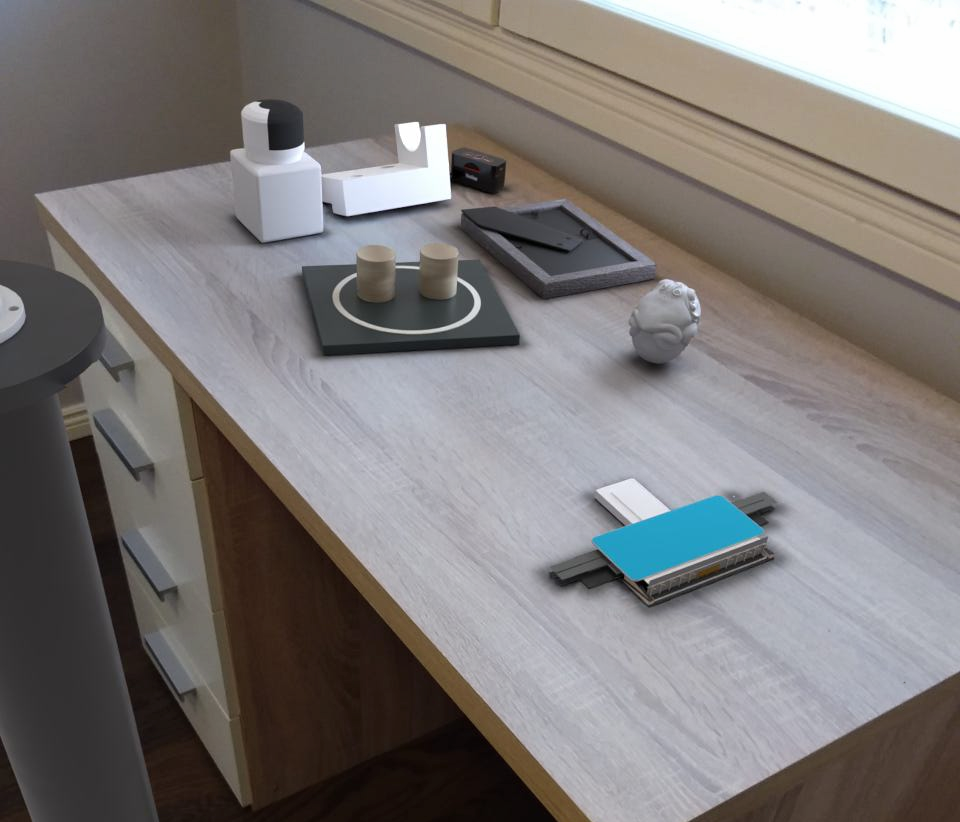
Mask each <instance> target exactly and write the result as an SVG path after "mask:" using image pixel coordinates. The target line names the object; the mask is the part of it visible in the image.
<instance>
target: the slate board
mask: <svg viewBox="0 0 960 822" xmlns="http://www.w3.org/2000/svg"><path fill="white" fill-rule="evenodd" d="M419 269H420V261H404V262H403V261H402V262H401V261H400V262H396V265H395V297H394V298H393V299H392V300H390V301H387V302H382V303H373V302H368V301H364V300H362V299H361V298H359V297H358V295H357V263H353V264H352V263H351V264H323V265H322V264H321V265H302V266H301V276H302V279H303V283H304V287H305V291H306V294H307V298H308V302H309V306H310V311H311V314H312V318H313V321H314V325H315V328H316V329H315V330H316V333H317V337H318V340H319V345H320V348H321V351H322V355H323V356H335V355H353V354H354V355H355V354H372V353H373V354H374V353H389V352H391V353H392V352H405V351H407V352H408V351H426V350H427V351H428V350H443V349H445V350H446V349H461V348H476V347H477V348H479V347H495V346H496V347H497V346H515V345H520V340H521V334H520V332H519V330H518V329H517V326H516V325H515V322H514V321H513V319H512V318H511V315H510V313H509V312H508V310H507V308H506V306H505V304H504V302H503V300H502V299H501V297H500V295H499V293H498V291H497V289H496V287H495V286H494V283H493V281H492V280H491V278H490V277H489V274H488V273H487V271H486V269H485V267H484V265H483V263H482V262H481V259H479V258H477V259H458V272H457V290H456V294H455V296H454V297H452V298H449V299H445V300H435V299H429V298H426V297H424V296H423V295H421V294H420V292H419Z"/></svg>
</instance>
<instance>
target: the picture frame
mask: <svg viewBox="0 0 960 822" xmlns="http://www.w3.org/2000/svg"><path fill="white" fill-rule="evenodd" d="M460 211H461V213H460V229H461V230H462V231H463V232H464V233H466V234H467V235H468V236H469V237H471V238H472V239H473V240H474V241H475V242H476V243H477V244H478V245H480V246H481V247H482V248H483V249H485V251H487V252H488V253H489V254H490V255H491V256H493V258H495V259H496V260H497V261H498V262H499V263H501V264H502V265H503V266H504V267H505V268H507V270H509V271H510V272H511V273H512V274H514V275H515V276H516V277H517V278H518V279H520V281H521V282H523V283H524V284H526V286H527V287H528V288H530V289H531V290H533V291H534V293H536V295H538V297H541V298H542V299H543V300H546V299H551V298H557V297H561V296H567V295H573V294H579V293H583V292H589V291H595V290H599V289H605V288H610V287H617V286H621V285H627V284H633V283H637V282H643V281H649V280H653V279H655V276H656V271H657V265H658V264H657V263H656V262H655V261H653V260H652V259H651V258H649V257H648V256H646V255H645V254H644V253H642V252H641V251H640V250H638V249H636V248H635V247H634V246H633V245H631V244H629V242H627V241H625V240H624V239H623V238H621V237H620V236H619V235H617V234H616V233H614V232H613V231H612V230H610V229H609V228H607V227H606V226H605V225H603V224H601V222H599V221H598V220H596V219H595V218H594V217H592V216H591V215H589V214H588V213H587V212H585V211H584V210H582V209H581V208H580V207H578V206H577V205H576V204H575V203H573V202H572V201H570V200H568V199H567V198H561V199H554V200H553V199H552V200H546V201H540V202H531V203H525V204H519V205H511V206H505V207H498V206H486V207H474V208H464V209H461V210H460Z"/></svg>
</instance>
